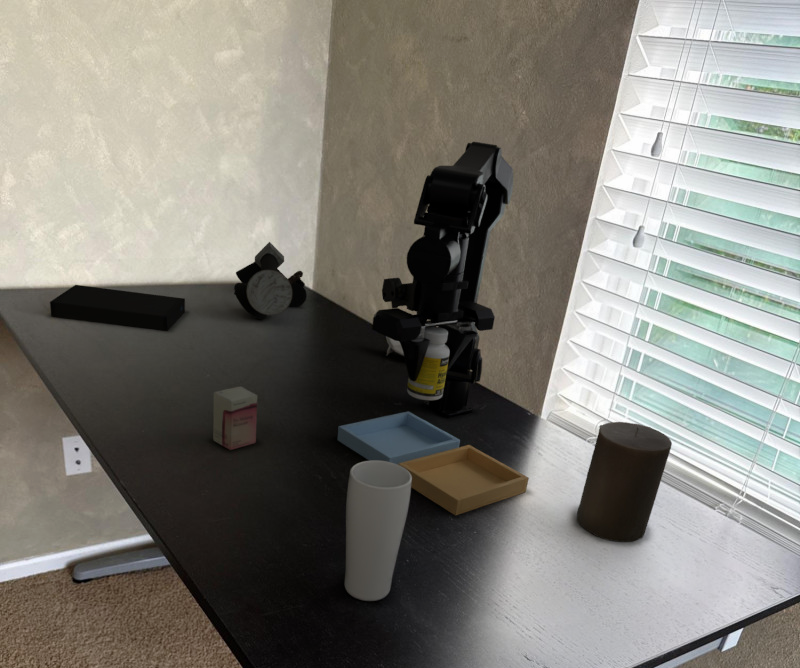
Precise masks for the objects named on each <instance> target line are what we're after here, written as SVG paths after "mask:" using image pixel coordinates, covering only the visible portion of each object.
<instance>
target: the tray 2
mask: <svg viewBox="0 0 800 668" xmlns="http://www.w3.org/2000/svg"><path fill="white" fill-rule="evenodd" d="M398 465H400V466H402V467H404V468H405V469H406V470H408V471H409V472H410V474H411V476H412V483H411V489H413V490H415V491H416V492H417V493H419V494H420V495H423V496H424V497H425V498H427V499H429V500H430V501H432V502H434V503H435V504H436V505H438V506H440V507H441V508H443V509H444V510H445V511H448V512H449V513H451V514H452V515H454V516H458V515H462V514H465V513H467V512H470V511H473V510H477V509H479V508H482V507H485V506H489V505H491V504H495V503H497V502H501V501H503V500H507V499H509V498H513V497H515V496H518V495H521V494H524V493H527V488H528V483H529V480H530V477H528V476H526V475H525V474H523V473H521V472H520V471H517V469H516V470H515V468H512V467H510V466H508V465H506V464H505V463H503V462H501V461H500V460H498V459H496V458H494V457H492V456H490V455H488V454H487V453H485V452H483V451H481V450H479V449H478V448H475V447H474V446H472V445H471V444H467V445H463V446H459V448H455V449H451V450H447V451H443V452H440V453H436V454H432V455H428V456H425V457H421V458H417V459H413V460H409V461H406V462H403V463H399V464H398Z"/></svg>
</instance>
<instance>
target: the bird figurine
mask: <svg viewBox="0 0 800 668" xmlns="http://www.w3.org/2000/svg"><path fill="white" fill-rule="evenodd" d="M385 338H386V343H387V345H388V347H387V350H386V355H385V356H388V355H390V353H393V352H395V353H397V354H399V355H400V356H403V357H404V353H403V350H402V347H401V344H400V342H399V341H395V340H393V339H391V338H389V337H387V336H385Z"/></svg>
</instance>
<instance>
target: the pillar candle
mask: <svg viewBox="0 0 800 668" xmlns="http://www.w3.org/2000/svg"><path fill="white" fill-rule="evenodd" d="M598 428H599V429H598V434H597V437H596V441H595V445H594V449H593V452H592V455H591V459H590V463H589V466H588V469H587V474H586V478H585V482H584V486H583V490H582V493H581V497H580V502H579V505H578V507H577V512H576V519H577V523H578V524H579V525H580V527H582V528H584V529H585V530H586V531H588V532H590V533H591V534H593V535H594V536H596V537H599V538H602V539H605V540H608V541H613V542H614V541H615V542H634V541H638V540H639V539H641V538H643V537H644V535H645V534H646V530H647V528H648V524H649V522H650V521H649V520H650V518H651V514H652V511H653V508H654V505H655V502H656V498H657V495H658V491H659V487H660V486H661V481H662V478H663V474H664V471H665V468H666V465H667V461H668V459H669V455H670V452H671V450H672V445H673V443H672V440H671V439H670V437H669V436H667V435H666V434H665V433H663V432H661V431H660V430H657V429H655V428H653V427H651V426H646V425H643V424H640V423H631V422H627V421H614V422H613V421H610V422H607V423H604V424H600V425H599V426H598Z"/></svg>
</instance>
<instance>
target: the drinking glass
mask: <svg viewBox="0 0 800 668" xmlns="http://www.w3.org/2000/svg"><path fill="white" fill-rule="evenodd" d="M411 483H412V476H411V474H410V472H409V471H408V470H406V469H405V468H404V467H402V466H400V465H397V464H394V463H391V462H386V461H378V460H371V461H369V460H364V461H361V462H358V463H355V464H354V465H353V466H352V467H351V468H350V471H349V476H348V482H347V489H346V500H345V503H346V504H345V572H344V583H343V584H344V589H345V591H346V592H347V593H348V595H350V596H351V597H353V598H354V599H357V600H360V601H363V602H375V601H376V602H377V601H380V600H382V599H385V598H386V597H387V596H388V595H389V594H390V591H391V589H392V582H393V577H394V572H395V568H396V563H397V559H398V555H399V550H400V546H401V542H402V538H403V534H404V530H405V526H406V522H407V518H408V513H409V507H410V502H411V495H412V494H411V493H412V487H411Z"/></svg>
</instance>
